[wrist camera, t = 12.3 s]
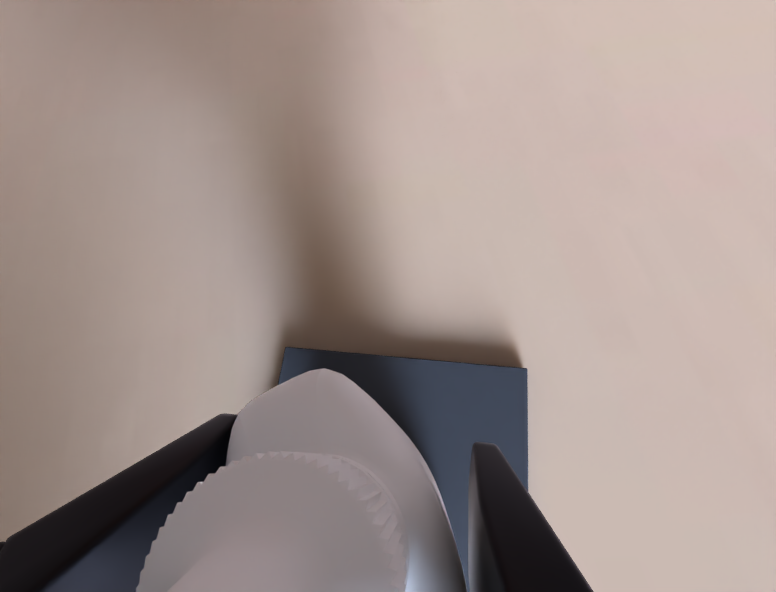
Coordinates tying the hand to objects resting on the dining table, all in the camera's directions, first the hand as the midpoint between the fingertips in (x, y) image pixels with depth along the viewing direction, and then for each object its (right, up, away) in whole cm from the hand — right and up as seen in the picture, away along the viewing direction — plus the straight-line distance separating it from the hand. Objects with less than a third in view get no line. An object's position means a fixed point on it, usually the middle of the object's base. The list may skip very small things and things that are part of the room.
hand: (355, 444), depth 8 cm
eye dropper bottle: (+1, -4, +6) cm, 7 cm away
